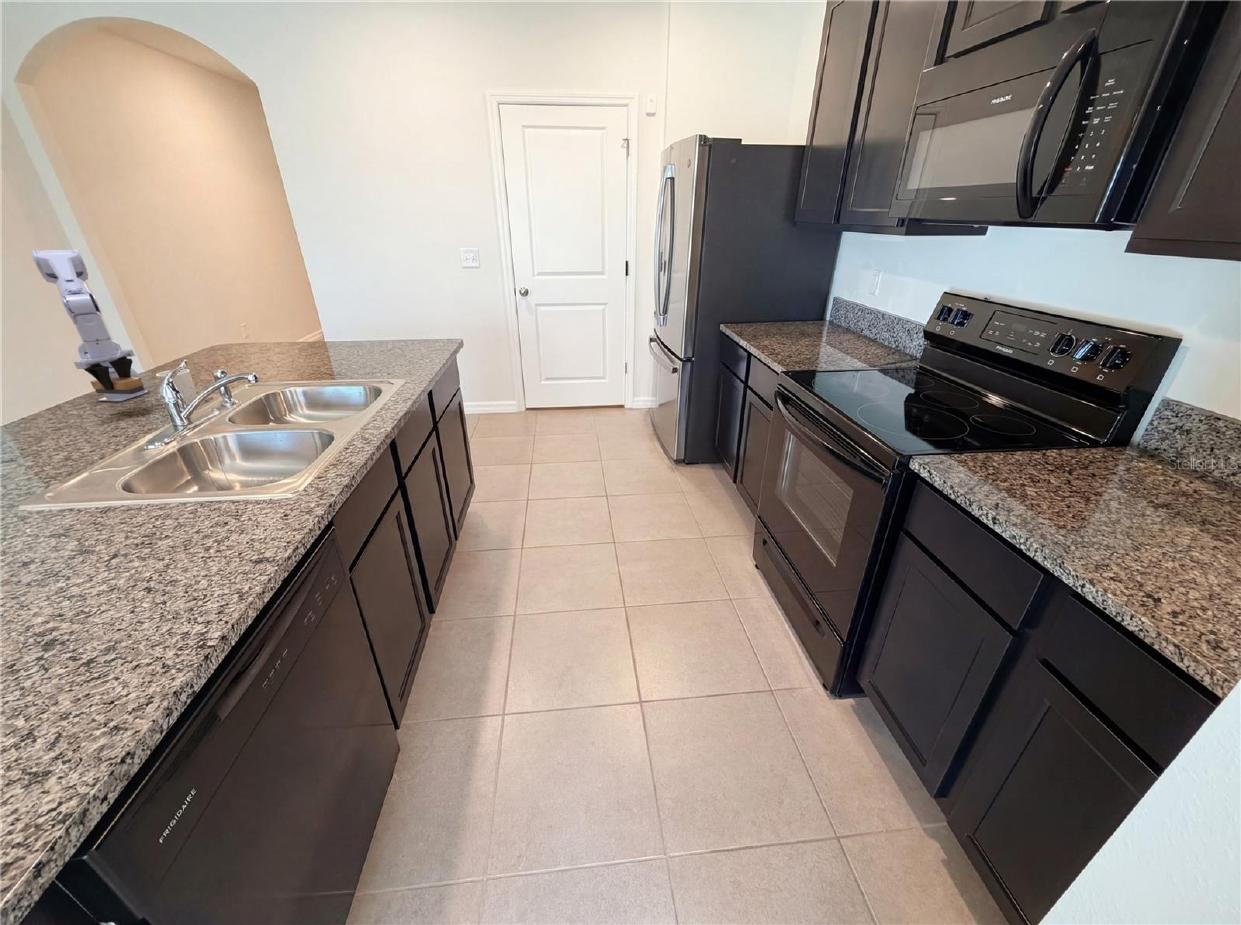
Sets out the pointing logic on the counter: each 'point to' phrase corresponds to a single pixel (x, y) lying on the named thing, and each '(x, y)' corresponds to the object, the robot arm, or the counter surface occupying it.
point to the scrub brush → (120, 386)
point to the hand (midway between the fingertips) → (118, 387)
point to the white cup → (181, 383)
